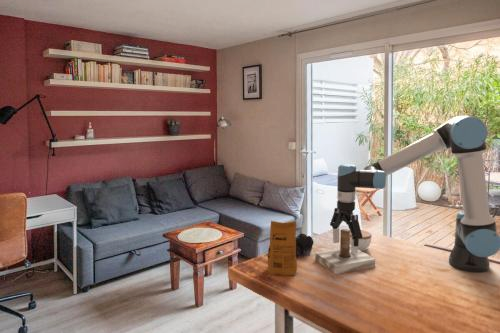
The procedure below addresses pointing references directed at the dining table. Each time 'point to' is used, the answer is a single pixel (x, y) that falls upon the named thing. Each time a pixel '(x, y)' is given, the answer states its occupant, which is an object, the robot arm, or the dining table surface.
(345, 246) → the peg
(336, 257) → the board
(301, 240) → the crystal cluster
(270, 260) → the coffee package
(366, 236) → the lidded jar
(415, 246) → the dining table surface
